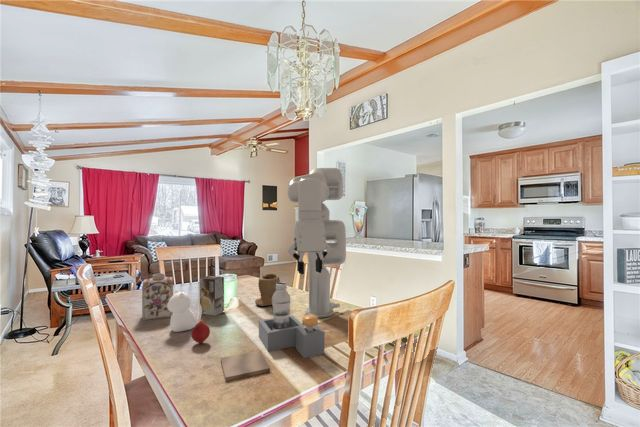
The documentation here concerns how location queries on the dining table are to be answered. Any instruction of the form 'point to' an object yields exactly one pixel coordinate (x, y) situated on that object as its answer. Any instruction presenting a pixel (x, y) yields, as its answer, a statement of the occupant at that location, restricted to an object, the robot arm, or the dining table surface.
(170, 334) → the dining table surface
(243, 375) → the pad
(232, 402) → the dining table surface
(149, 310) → the decorative jar
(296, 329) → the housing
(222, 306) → the coffee box
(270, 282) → the stone cup
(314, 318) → the orange egg-shaped ball
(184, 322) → the cat figurine
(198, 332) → the onion
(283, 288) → the plastic bottle
